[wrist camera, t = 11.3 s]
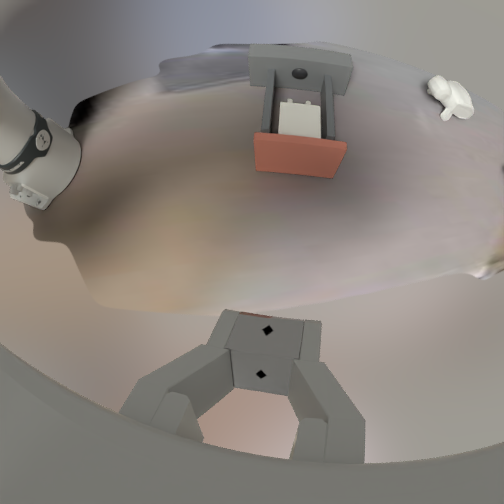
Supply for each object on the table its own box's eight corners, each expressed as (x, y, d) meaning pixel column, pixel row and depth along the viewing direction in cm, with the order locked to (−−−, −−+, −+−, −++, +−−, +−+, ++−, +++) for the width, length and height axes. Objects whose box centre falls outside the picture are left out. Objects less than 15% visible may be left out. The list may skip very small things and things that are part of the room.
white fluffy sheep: (445, 101, 50) (409, 81, 44) (467, 85, 42) (434, 60, 37) (459, 130, 48) (426, 112, 43) (484, 114, 40) (455, 91, 35)
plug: (256, 172, 44) (253, 139, 34) (262, 112, 46) (261, 75, 36) (331, 180, 43) (346, 149, 34) (330, 119, 45) (341, 84, 36)
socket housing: (241, 144, 45) (237, 116, 37) (252, 72, 48) (250, 43, 40) (348, 155, 44) (361, 129, 36) (342, 81, 47) (350, 54, 39)
